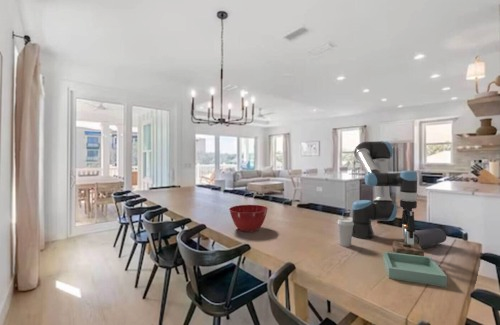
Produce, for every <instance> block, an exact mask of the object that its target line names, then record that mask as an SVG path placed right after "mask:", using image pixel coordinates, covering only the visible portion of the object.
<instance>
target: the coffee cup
mask: <svg viewBox="0 0 500 325" xmlns="http://www.w3.org/2000/svg"><path fill="white" fill-rule="evenodd" d="M353 225H354V223H353V221H352V219H350V218H339V219H338V220H337V230H338V241H339V245H340V246H342V247H347V248H349V247H352V240H353V238H352V237H353V236H352V231H353Z"/></svg>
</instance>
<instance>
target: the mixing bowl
mask: <svg viewBox="0 0 500 325" xmlns="http://www.w3.org/2000/svg"><path fill="white" fill-rule="evenodd" d="M228 210H229V212H230V216H231V220H232V221H233V223H234V225H235V227H236V228H237V229H238V230H239V231H241V232H248V233H249V232H255V231H258V230H259V229H260V228H261V227H262V225H263V224H264V222H265V219H266V216H267V212H268V207H267V206H264V205H260V204H240V205H235V206H231V207H230V208H229V209H228Z"/></svg>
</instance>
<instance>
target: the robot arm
mask: <svg viewBox="0 0 500 325" xmlns="http://www.w3.org/2000/svg"><path fill="white" fill-rule="evenodd" d="M353 154H354V157H355V159H356V160H357V161H358V162H359V163H360V166H361V167H362V169H363V171H364V173H365V175H364V184H365V185H366V186H367V187H374V192H375V193H374V194H375V198H374V199H373V200H370V199H369V200H368V199H359V200H354V202H353V203H352V208H351V209H352V212H351V214H352V215H351V216H352V219H351V220H352V221H353V223H354V225H353V231H352V237H354V238H357V239H358V238H359V239H373V238H374V237H375V232H374V230H373V226H372V221H385V222H389V221H394V220H395V219H396V218H397V213H398V207H397V204H396V203H394V201H393V199H392V198H391V197H390V195H391V194H390V187H398V188H399V199H400V200H399V207H400V208H402V214H401V215H402V216H401V223H402V224H401V225H402V226H401V236H402V237H404V231H405V227H403V225H404V224H407V225H408V230H407V231H408V232H407V244H412V245H414V232H415V231H416V225H415V223H416V222H415V212H414V211H413V210H414V209H415V210H416V209H417V207H418V206H417V205H418V202H417V199H418V196H419V194H417V193H418V172H417V170H401V171H400V172H389V168H388V167H389V165H388V164H389V163H388V162H389V161H390V159H391V158H393V154H394V152H393V146H392V144H391V143H390V142H388V141H363V142H361V143H359V144H358V145H357V146H355V149H354V151H353ZM372 201H373V202H372Z"/></svg>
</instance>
